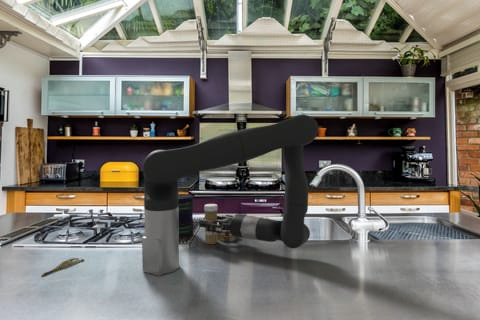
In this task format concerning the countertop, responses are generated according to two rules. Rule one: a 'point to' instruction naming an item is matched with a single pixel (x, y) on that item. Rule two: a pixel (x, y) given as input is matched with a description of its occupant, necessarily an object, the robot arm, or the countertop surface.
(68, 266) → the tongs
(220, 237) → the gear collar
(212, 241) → the sprinkles bottle
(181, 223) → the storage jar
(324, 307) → the countertop surface
